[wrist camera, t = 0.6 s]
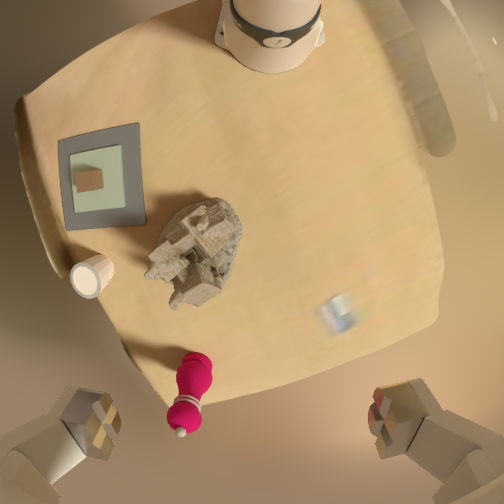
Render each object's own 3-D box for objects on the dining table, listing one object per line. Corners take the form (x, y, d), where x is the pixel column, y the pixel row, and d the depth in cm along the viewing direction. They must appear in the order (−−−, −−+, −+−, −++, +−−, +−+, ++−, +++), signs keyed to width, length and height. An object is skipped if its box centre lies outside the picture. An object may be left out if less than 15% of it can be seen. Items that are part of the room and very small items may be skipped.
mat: (59, 141, 45) (58, 141, 45) (139, 123, 45) (138, 122, 44) (67, 230, 50) (66, 231, 50) (146, 224, 50) (145, 224, 50)
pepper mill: (174, 363, 59) (150, 432, 40) (194, 344, 57) (173, 416, 38) (200, 381, 60) (185, 452, 41) (221, 364, 59) (211, 437, 39)
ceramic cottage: (186, 303, 54) (169, 344, 40) (147, 224, 51) (114, 241, 36) (263, 272, 54) (272, 306, 39) (226, 187, 50) (221, 189, 35)
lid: (72, 155, 46) (57, 155, 41) (121, 145, 45) (109, 144, 41) (77, 211, 49) (63, 216, 44) (125, 206, 49) (114, 211, 44)
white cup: (104, 244, 51) (86, 256, 44) (123, 275, 53) (107, 289, 46) (82, 261, 52) (63, 273, 45) (100, 289, 54) (83, 304, 47)
